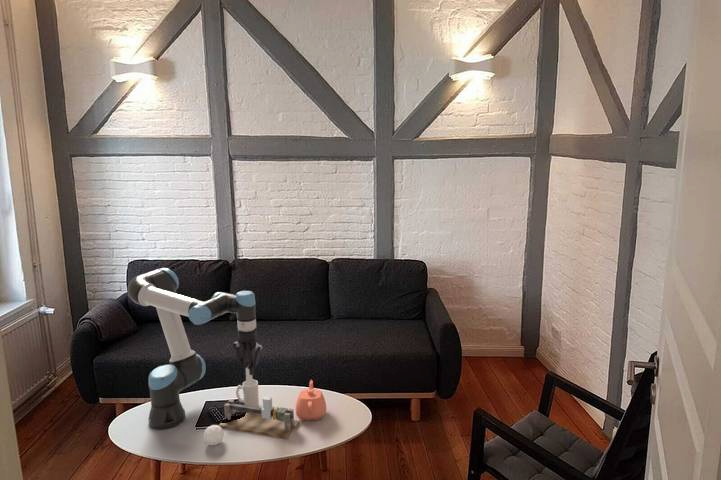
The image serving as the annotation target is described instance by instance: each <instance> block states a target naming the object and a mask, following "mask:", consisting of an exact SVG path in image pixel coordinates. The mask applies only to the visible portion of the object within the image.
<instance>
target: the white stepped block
mask: <svg viewBox="0 0 721 480" xmlns="http://www.w3.org/2000/svg"><path fill="white" fill-rule="evenodd" d="M261 408H262V409H261V413H262V414H261V415H262V418H264V419H271V418H272V417H273V416H271V411H272V410H275V405H273V398H272V396H264V397H263V398H262V407H261Z"/></svg>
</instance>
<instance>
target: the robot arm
mask: <svg viewBox="0 0 721 480" xmlns="http://www.w3.org/2000/svg"><path fill="white" fill-rule="evenodd" d="M179 285H180V281H179V278H178V276H177V274H176V273H175V272H174V271H173V270H171V269H170V268H168V267H162V268H157V269H154V270H151V271H148V272H145V273H142V274H137V275H136V276H135V277H133V278H131V280H130V281H129V282H128V285H127V289H126V290H127V296H128V297H129V299H130V300H131V301H132V302H134V303H135V304H137V305H139V306H142V307H148V306H152V307H154V308H155V310H156V312H157V315H158V318H159V322H160V325H161V327H162V331H163V333H164V334H163V335H164V336H165V337H164V338H165V341H166V343H167V346H168V349H169V353H170V355H171V356H170V359H169V360H168V361H169V364H164V365H159V366H157V367H156V368H154V369H153V370H152V371H150V373H149V375H148V388H149V396H150V404H151V405H150V410H149V415H148V425H149V427H150V428H152V429H155V430H166V429H168V430H169V429H172V428H174V427H177V426H179V425H180V424H182V423H183V422H184V421H185V420H186V411H185V409H184V408H183V407H184V406H183V405H182V403H181V402H182V401H181V400H180V392H182V391H184V390H185V389H187V388H188V387H190V386H192V385H194V384H196V383H197V382H198V381H200V380H201V379H202V378H203V377H204V376H205V374H206V362H205V359H204V358H203V357H202V356H201V355H199V354H198V353H197V352H196V351H195V350H194V349H191V346H190V342H189V339H188V335H187V334H186V330H185V327H184V324H183V321H182V317H181V316H185V317H186V318H188V319H189V321H190V322H191V323H193V324H194V325H197V326H200V325H203V324H206V323H208V322H210V321H211V320H214V319H215V318H217V317H219V316H222V315H224V314H226V313H231V314H236V321H237V338H238V339H237V341H235V342H234V343H232V346H233V348H234V350H235V354H236V358H237V361H238V364H239V366H242V367H243V373H244V375H245V381H246V382H247V383H250V382H251V381H252V380H254V378H253V375H254V374H255V370H254V369H255V368H256V367H257V366H258V365H259V361H260V355H261V351H262V349H263V348H264V346H263V344H259V343H258V339H257V333H258V332H257V316H256V303H257V302H256V297H255V295H256V294H255V293H254V291H251V290H241V291H238V292H236V294H233V293H229V292H223V291H217V292H215V293H214V294H213V295H212V297H211V298H210V299H208V300H205V301H203V300H200V299H196V298H191V297H189V296H185V295H182V294H178V293H177V289H179Z"/></svg>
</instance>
